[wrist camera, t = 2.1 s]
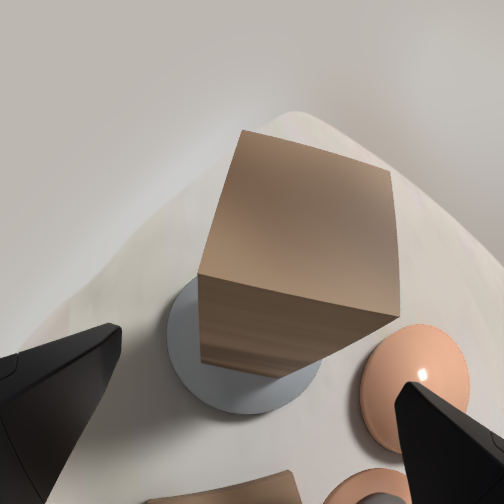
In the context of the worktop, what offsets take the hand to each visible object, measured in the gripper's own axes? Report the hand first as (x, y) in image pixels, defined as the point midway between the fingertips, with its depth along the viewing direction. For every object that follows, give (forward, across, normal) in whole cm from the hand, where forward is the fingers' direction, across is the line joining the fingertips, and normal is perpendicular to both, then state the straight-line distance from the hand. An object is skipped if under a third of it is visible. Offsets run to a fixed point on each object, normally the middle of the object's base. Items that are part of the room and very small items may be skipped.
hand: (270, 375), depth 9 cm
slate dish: (+11, 0, +5) cm, 12 cm away
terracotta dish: (+9, -14, +7) cm, 18 cm away
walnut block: (+10, 0, +4) cm, 11 cm away
